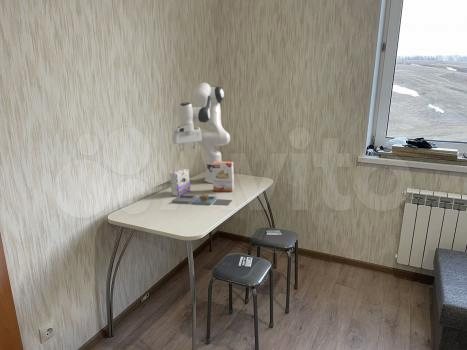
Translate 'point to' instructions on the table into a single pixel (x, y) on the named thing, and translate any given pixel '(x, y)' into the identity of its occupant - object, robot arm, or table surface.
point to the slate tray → (198, 201)
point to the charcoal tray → (184, 199)
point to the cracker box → (223, 176)
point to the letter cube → (204, 198)
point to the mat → (222, 202)
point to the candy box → (180, 182)
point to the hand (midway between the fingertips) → (188, 149)
